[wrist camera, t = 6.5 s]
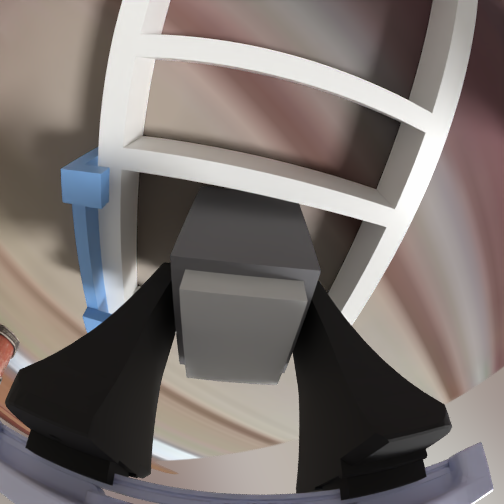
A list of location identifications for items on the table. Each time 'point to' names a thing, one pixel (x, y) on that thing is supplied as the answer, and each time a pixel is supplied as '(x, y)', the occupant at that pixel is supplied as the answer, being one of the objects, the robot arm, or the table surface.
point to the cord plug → (241, 285)
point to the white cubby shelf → (251, 166)
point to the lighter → (7, 347)
